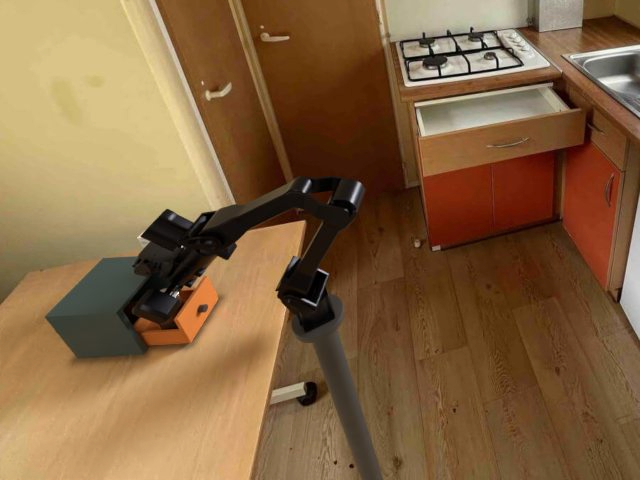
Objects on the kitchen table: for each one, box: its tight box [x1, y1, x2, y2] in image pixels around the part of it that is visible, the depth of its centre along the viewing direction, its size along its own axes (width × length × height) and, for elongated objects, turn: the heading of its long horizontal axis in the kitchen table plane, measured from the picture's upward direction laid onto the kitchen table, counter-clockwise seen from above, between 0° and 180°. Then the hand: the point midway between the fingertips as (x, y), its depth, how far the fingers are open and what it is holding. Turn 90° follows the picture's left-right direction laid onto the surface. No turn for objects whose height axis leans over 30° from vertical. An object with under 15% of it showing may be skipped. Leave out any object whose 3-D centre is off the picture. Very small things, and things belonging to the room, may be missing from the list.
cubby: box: [44, 255, 184, 360], centre depth 89 cm, size 13×14×13 cm
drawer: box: [132, 275, 219, 347], centre depth 91 cm, size 13×11×8 cm
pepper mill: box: [159, 288, 184, 330], centre depth 88 cm, size 5×5×10 cm
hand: (161, 295), depth 89 cm, fingers open, 8 cm apart
